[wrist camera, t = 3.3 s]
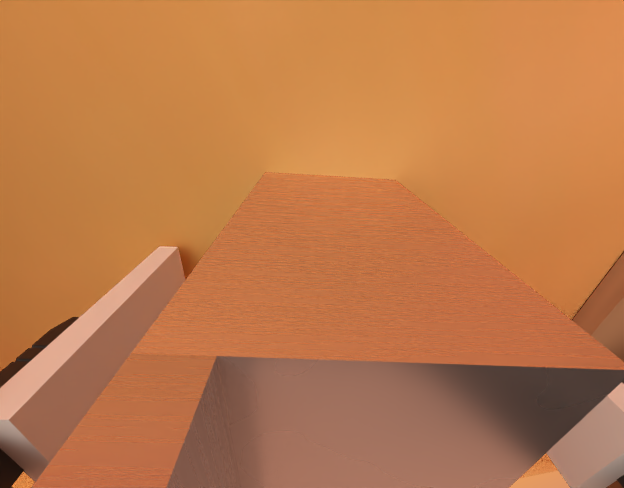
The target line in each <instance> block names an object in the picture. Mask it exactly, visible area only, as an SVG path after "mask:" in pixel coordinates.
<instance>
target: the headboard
mask: <svg viewBox="0 0 624 488" xmlns="http://www.w3.org/2000/svg"><path fill="white" fill-rule="evenodd" d="M572 321H573V322H574V323H576V324H577V325H578V326H579V327H581V328H582V329H583V330H584V331H586V332H587V333H588V334H590V335H591V336H592V337H593V338H595V339H596V340H597V341H598V342H600V343H601V344H602V345H603V346H605V347H606V348H607V349H608V350H610V351H611V352H612V353H613V354H615V355H616V356H617V357H618V358H620V359H621V360H622V361H623V362H624V253H623V254H622V255H621V257H620V258H619V259H618V261H617V262H616V263H615V265H614V266H613V267H612V269H611V270H610V271H609V272H608V274H607V275H606V276H605V278H604V279H603V280H602V282H601V283H600V284H599V286H598V287H597V288H596V289H595V291H594V292H593V293H592V295H591V296H590V297H589V299H588V300H587V301H586V303H585V304H584V305H583V307H582V308H581V309H580V310H579V312H578V313H577V314H576V316H575V317H574V318H573V320H572ZM606 488H623V487H622V486H621V484H620V483H619V482H618V481H615V482H614V483H612V484H611V485H609V486H608V487H606Z"/></svg>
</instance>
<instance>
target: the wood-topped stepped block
mask: <svg viewBox="0 0 624 488" xmlns="http://www.w3.org/2000/svg"><path fill="white" fill-rule="evenodd" d="M622 381H624V362H623V361H622V360H621V359H620V358H618V357H617V356H616V355H615V354H613V353H612V352H611V351H610V350H608V349H607V348H606V347H605V346H603V345H602V344H601V343H600V342H598V341H597V340H596V339H595V338H593V337H592V336H591V335H590V334H588V333H587V332H586V331H584V330H583V329H582V328H581V327H579V326H578V325H577V324H576V323H574V322H573V321H572V320H571V319H569V318H568V317H567V316H566V315H564V314H563V313H562V312H561V311H559V310H558V309H557V308H556V307H554V306H553V305H552V304H551V303H549V302H548V301H547V300H546V299H544V298H543V297H542V296H541V295H539V294H538V293H537V292H536V291H534V290H533V289H532V288H531V287H529V286H528V285H527V284H525V283H524V282H523V281H522V280H520V279H519V278H518V277H517V276H515V275H514V274H513V273H512V272H510V271H509V270H508V269H507V268H505V267H504V266H503V265H502V264H500V263H499V262H498V261H497V260H495V259H494V258H493V257H492V256H490V255H489V254H488V253H487V252H485V251H484V250H483V249H482V248H480V247H479V246H478V245H477V244H475V243H474V242H473V241H472V240H470V239H469V238H468V237H466V236H465V235H464V234H463V233H461V232H460V231H459V230H458V229H456V228H455V227H454V226H453V225H451V224H450V223H449V222H448V221H446V220H445V219H444V218H443V217H441V216H440V215H439V214H438V213H436V212H435V211H434V210H433V209H431V208H430V207H429V206H428V205H426V204H425V203H424V202H423V201H421V200H420V199H419V198H418V197H416V196H415V195H414V194H413V193H411V192H410V191H409V190H408V189H406V188H405V187H404V186H402V185H401V184H400V183H399V182H397V181H396V180H389V179H373V178H356V177H339V176H323V175H306V174H290V173H273V172H265V173H264V175H263V176H262V178H261V179H260V180H259V182H258V183H257V184H256V186H255V187H254V188H253V190H252V191H251V192H250V194H249V195H248V196H247V198H246V199H245V200H244V202H243V203H242V204H241V206H240V207H239V208H238V210H237V211H236V213H235V214H234V215H233V217H232V218H231V219H230V221H229V222H228V223H227V225H226V226H225V227H224V229H223V230H222V231H221V233H220V234H219V235H218V237H217V238H216V239H215V241H214V242H213V244H212V245H211V246H210V248H209V249H208V250H207V252H206V253H205V254H204V256H203V257H202V258H201V260H200V261H199V262H198V264H197V265H196V266H195V268H194V269H193V270H192V272H191V273H190V275H189V276H188V277H187V279H186V280H185V281H184V283H183V284H182V285H181V287H180V288H179V289H178V291H177V292H176V293H175V295H174V296H173V297H172V299H171V300H170V301H169V303H168V304H167V305H166V307H165V308H164V310H163V311H162V312H161V314H160V315H159V316H158V318H157V319H156V320H155V322H154V323H153V324H152V326H151V327H150V328H149V330H148V331H147V332H146V334H145V335H144V336H143V338H142V339H141V341H140V342H139V343H138V345H137V346H136V347H135V349H134V350H133V351H132V353H131V354H130V355H129V357H128V358H127V359H126V361H125V362H124V363H123V365H122V366H121V367H120V369H119V370H118V372H117V373H116V374H115V376H114V377H113V378H112V380H111V381H110V382H109V384H108V385H107V386H106V388H105V389H104V390H103V392H102V393H101V394H100V396H99V397H98V398H97V400H96V401H95V402H94V404H93V405H92V407H91V408H90V409H89V411H88V412H87V413H86V415H85V416H84V417H83V419H82V420H81V421H80V423H79V424H78V425H77V427H76V428H75V429H74V431H73V432H72V433H71V435H70V436H69V438H68V439H67V440H66V442H65V443H64V444H63V446H62V447H61V448H60V450H59V451H58V452H57V454H56V455H55V456H54V458H53V459H52V460H51V462H50V463H49V464H48V466H47V467H46V469H45V470H44V471H43V473H42V474H41V475H40V477H39V478H38V479H37V481H36V482H35V483H34V485H33V486H32V487H31V488H509V487H510V486H511V485H512V484H513V483H514V482H515V481H517V480H518V479H519V478H520V477H521V476H522V475H523V474H524V473H525V472H526V471H527V470H528V469H529V468H530V467H532V466H533V465H534V464H535V463H536V462H537V461H538V460H539V459H540V458H541V457H542V456H543V455H544V454H545V453H547V452H548V451H549V450H550V449H551V448H552V447H553V446H554V445H555V444H556V443H557V442H558V441H559V440H560V439H561V438H563V437H564V436H565V435H566V434H567V433H568V432H569V431H570V430H571V429H572V428H573V427H574V426H575V425H576V424H578V423H579V422H580V421H581V420H582V419H583V418H584V417H585V416H586V415H587V414H588V413H589V412H590V411H591V410H593V409H594V408H595V407H596V406H597V405H598V404H599V403H600V402H601V401H602V400H603V399H604V398H605V397H606V396H608V395H609V394H610V393H611V392H612V391H613V390H614V389H615V388H616V387H617V386H618V385H619V384H620V383H621V382H622Z"/></svg>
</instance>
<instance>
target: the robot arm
mask: <svg viewBox="0 0 624 488" xmlns="http://www.w3.org/2000/svg"><path fill="white" fill-rule="evenodd" d="M184 281H185V276H184V271H183V267H182V262H181V258H180V253H179V249H178V247H168V246H159V247H158V248H157V249H156V250H155V251H154V252H152V253H151V254H150V255H149V256H148V257H147V258H146V259H145V260H143V261H142V262H141V263H140V264H139V265H138V266H137V267H136V268H134V269H133V270H132V271H131V272H130V273H129V274H128V275H127V276H125V277H124V278H123V279H122V280H121V281H120V282H119V283H118V284H116V285H115V286H114V287H113V288H112V289H111V290H110V291H109V292H107V293H106V294H105V295H104V296H103V297H102V298H101V299H100V300H98V301H97V302H96V303H95V304H94V305H93V306H92V307H91V308H89V309H88V310H87V311H86V312H85V313H84V314H83V315H82V316H81V317H72V318H70V319H69V320H67V321H65V322H63V323H61V324H60V325H58V326H56V327H54V328H53V329H51V330H50V331H48V332H47V333H46V334H45V335H44V336H43V337H41V338H40V339H39V340H38V341H37V342H35V343H34V344H33V345H32V348H28V349H27V350H26V351H25V352H23V353H22V354H21V355H20V356H19V357H17V358H16V361H15V362H11V363H10V364H9V365H8V366H7V367H6V368H4V369H3V370H2V371H1V372H0V488H13V487H12V485H13V484H14V482H15V481H16V480H17V478H18V477H19V476H20V475H21V473H22V472H23V471H24V472H25V473H26V474H27V475H28V476H29V477H30V478H32V479H33V480H34V481H35V482H36V481H37V479H38V478H39V477H40V475H41V474H42V473H43V471H44V470H45V469H46V467H47V466H48V464H49V463H50V462H51V460H52V459H53V458H54V456H55V455H56V454H57V452H58V451H59V450H60V448H61V447H62V446H63V444H64V443H65V442H66V440H67V439H68V438H69V436H70V435H71V433H72V432H73V431H74V429H75V428H76V427H77V425H78V424H79V423H80V421H81V420H82V419H83V417H84V416H85V415H86V413H87V412H88V411H89V409H90V408H91V407H92V405H93V404H94V402H95V401H96V400H97V398H98V397H99V396H100V394H101V393H102V392H103V390H104V389H105V388H106V386H107V385H108V384H109V382H110V381H111V380H112V378H113V377H114V376H115V374H116V373H117V372H118V370H119V369H120V367H121V366H122V365H123V363H124V362H125V361H126V359H127V358H128V357H129V355H130V354H131V353H132V351H133V350H134V349H135V347H136V346H137V345H138V343H139V342H140V341H141V339H142V338H143V336H144V335H145V334H146V332H147V331H148V330H149V328H150V327H151V326H152V324H153V323H154V322H155V320H156V319H157V318H158V316H159V315H160V314H161V312H162V311H163V310H164V308H165V307H166V305H167V304H168V303H169V301H170V300H171V299H172V297H173V296H174V295H175V293H176V292H177V291H178V289H179V288H180V287H181V285H182V284H183V283H184ZM547 455H548V456H549V458H550V459H551V461H552V462H553V463H554V465H555V466H556V468H557V469H558V471H559V472H560V474H561V475H562V476H563V478H564V479H565V481H566V482H567V484H568V485H569V487H570V488H606V487H608V486H609V485H611V484H612V483H614V482H615V481H618V482H619V483H620V484H621V486H622V487H623V488H624V381H622V382H621V383H620V384H619V385H618V386H617V387H616V388H615V389H614V390H613V391H612V392H611V393H610V394H609V395H608V396H606V397H605V398H604V399H603V400H602V401H601V402H600V403H599V404H598V405H597V406H596V407H595V408H594V409H593V410H591V411H590V412H589V413H588V414H587V415H586V416H585V417H584V418H583V419H582V420H581V421H580V422H579V423H578V424H576V425H575V426H574V427H573V428H572V429H571V430H570V431H569V432H568V433H567V434H566V435H565V436H564V437H563V438H561V439H560V440H559V441H558V442H557V443H556V444H555V445H554V446H553V447H552V448H551V449H550V450H549V451H548V452H547Z"/></svg>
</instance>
